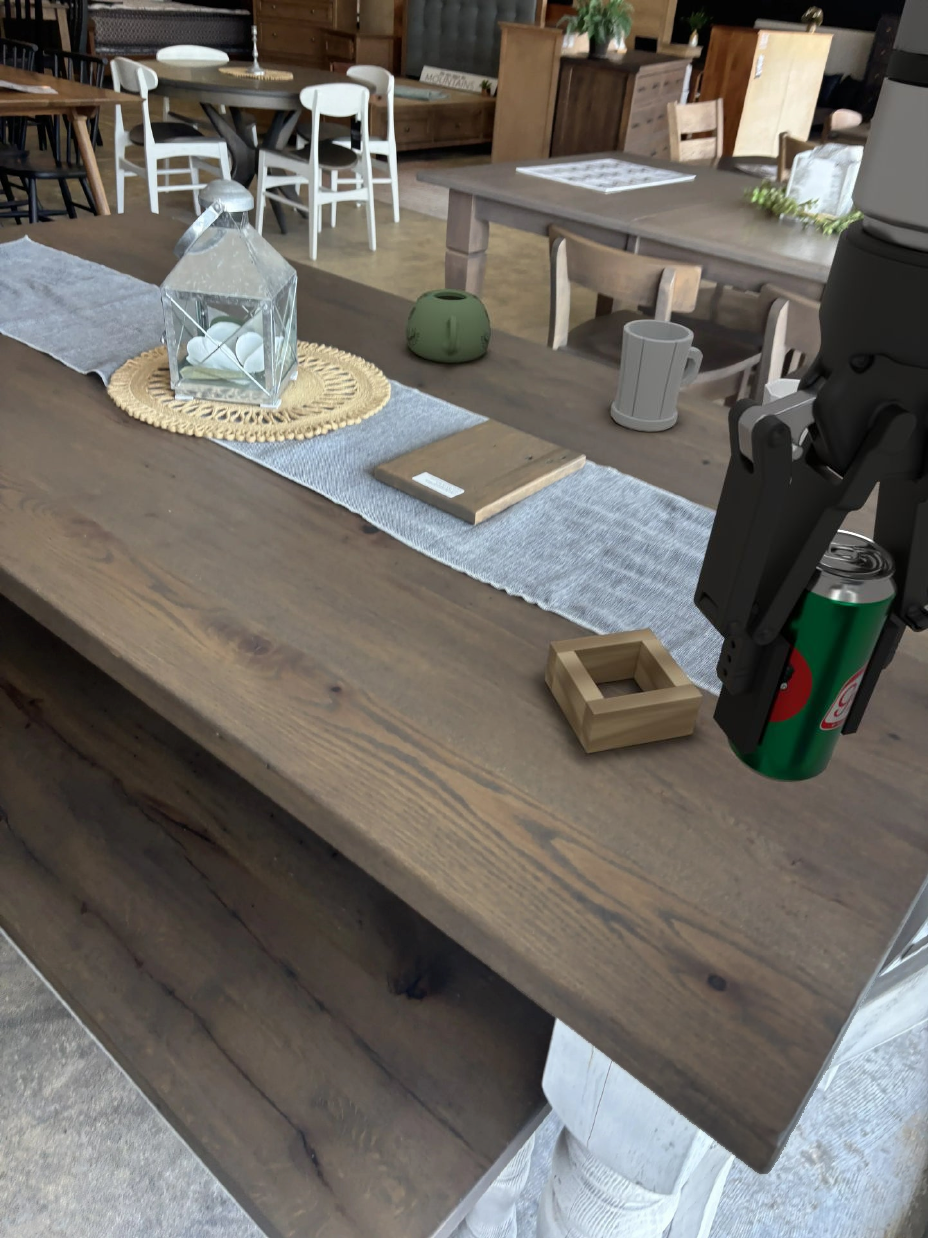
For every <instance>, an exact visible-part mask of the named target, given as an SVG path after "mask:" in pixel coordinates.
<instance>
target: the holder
mask: <svg viewBox="0 0 928 1238" xmlns="http://www.w3.org/2000/svg"><path fill="white" fill-rule="evenodd" d="M547 653H548V654H547V662H546V667H545V676H544V681H545V683H546V685H547V686H548V688H549V690H550V691H551V693H552V695H553V697H554V699H555V700H556V702H557V704H558V705H559V707H560V709H561V711H562V712H563V714H564V716H565V718H566V720H567V722H568V723H569V725H570V727H571V729H572V730H573V732H574V733H575V735H576V737H577V739H578V740H579V742H580V744H581V745H582V747H583V749H584V751H585V753H586V754H591V753H592V754H593V753H597V752H602V751H607V750H608V751H609V750H613V749H619V748H620V749H621V748H625V747H630V746H635V745H641V744H646V743H651V742H653V743H654V742H658V741H663V740H669V739H674V738H679V737H685V736H692V735H693V734H694V729H695V725H696V722H697V718H698V714H699V711H700V707H701V704H702V699H703V695H702V693H701V692H700V691H699V690H698V688H697V687H696V686H695V684H694V683H693V682H692V680H691V679H690V678H689V676H688V675H687V674H686V672H685V671H684V670H683V669H682V667H681V666H680V665H679V664H678V662H677V660H675V658H674V657H673V656H672V654H671V653H670V651H668V649H667V648H666V647H665V645H664V644H663V642H661V640H660V638H658V637H657V635H656V634H655V632H654V631H653V630H652V629H651V627H646V628H639V629H632V630H631V629H630V630H624V631H617V632H611V633H604V634H603V633H602V634H597V635H590V636H584V637H575V638H570V639H563V640H556V641H555V640H554V641H550V642H549V647H548V652H547ZM629 679H633V680H635V682H636V683H637V685H638V686H639V687H640V689H641V690H642V692H635V693H630V694H625V695H624V694H623V695H617V696H613V697H606V698H605V697H604V695H603V694H602V692H601V691H600V690H599V688H598V686H597V685H598V684H604V683H610V682H615V681H622V680H629Z"/></svg>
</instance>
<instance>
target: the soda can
mask: <svg viewBox="0 0 928 1238" xmlns="http://www.w3.org/2000/svg"><path fill="white" fill-rule="evenodd" d="M895 571H896V561H895V559H894V557H893V556H892V554H891V553H890V552H889V551H888V550H887V549H886V548H884V547H883V546H882V545H880V544H878V543H877V542H875V541H873V539H871V538H869V537H866V536H864V535H861V534H858V533H856V532H851V531H848V530H843V529H839V530H838V531H837V533H836V535H835V537H834V538H833V540H832V542H831V543H830V545H829V547H828V549H827V550H826V552H825V554H824V556H823V557H822V559H821V561H820V562H819V564H818V566H817V568H816V569H815V571H814V573H813V575H812V576H811V578H810V580H809V582H808V583H807V585H806V587H805V588H804V590H803V592H802V594H801V595H800V597H799V599H798V601H797V602H796V604H795V606H794V607H793V609H792V611H791V613H790V614H789V616H788V618H787V620H786V621H785V623H784V625H783V626H782V628H781V630H780V632H779V633H780V634H781V635H782V636H783V637H784V638H785V639H786V641H787V642H788V643H789V644H790V647H789V650H788V653H787V656H786V659H785V662H784V665H783V668H782V671H781V674H780V677H779V680H778V683H777V686H776V689H775V692H774V695H773V698H772V701H771V704H770V707H769V710H768V713H767V716H766V719H765V722H764V726H763V729H762V732H761V735H760V738H759V741H758V744H757V747H756V750H755V752H753V753H747V754H742V755H741V754H740V753H739V752H738V750H737V749H736V748H735V746H734V745H733V744H732V742H731V741H730V740H729V738H728V737H727V736H726V738H727V739H726V740H727V742H728V745H729V747H730V749H731V751H732V753H733V755H734V756H735V757H736V758H737V759H738V760H739V762H740V763H741V764H742V765H743V766H745V767H746V768H747V769H748V770H750V771H751V772H753V773H754V774H755V775H758V776H760V777H763V778H765V779H768V780H771V781H776V782H780V783H798V782H803V781H807V780H811V779H813V778H815V777H818V776H819V775H821V774H822V773H823V772H824V771H825V770H826V769H827V768H828V765H829V763H830V761H831V758H832V756H833V753H834V750H835V748H836V746H837V743H838V740H839V739H840V736H841V734H842V733H841V731H842V728H843V726H844V723H845V721H846V718H847V716H848V713H849V711H850V708H851V706H852V703H853V701H854V698H855V696H856V693H857V691H858V688H859V686H860V683H861V681H862V678H863V676H864V673H865V671H866V668H867V666H868V663H869V661H870V658H871V656H872V653H873V651H874V648H875V646H876V643H877V641H878V638H879V636H880V633H881V631H882V628H883V626H884V623H885V621H886V618H887V616H888V613H889V611H890V608H891V606H892V603H893V601H894V598H895V596H896V593H897V582H896V579H895V576H894V572H895Z"/></svg>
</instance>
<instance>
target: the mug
mask: <svg viewBox="0 0 928 1238" xmlns="http://www.w3.org/2000/svg"><path fill="white" fill-rule="evenodd" d="M491 330H492V329H491V322H490V317H489V314H488V310H487V309H486V307H485V304H484V303H483V301H482V300H481V299H480V298H479V297H478V296H477V295H476V294H474V293H471V292H468V291H465V290H461V289H456V288H441V289H440V288H439V289H434V290H433V289H432V290H428V291H426V292H424V293H422V294H421V295H420V296H419V297H418V298H417V299H416V301H415V303H414V305H413V306H412V308H411V311H410V312H409V315H408V318H407V323H406V328H405V335H406V340H407V346H408V348H410V351H412V352H413V353H415V354H416V355H417V356H418V357H421V358H422V359H424V360H428V361H431V362H435V363H445V364H457V363H466V362H471V361H474V360H476V359H478V358H479V357H482V356H483V355H484V354H485V353H487V351H488V348H489V343H490V340H491V336H492V331H491Z"/></svg>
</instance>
